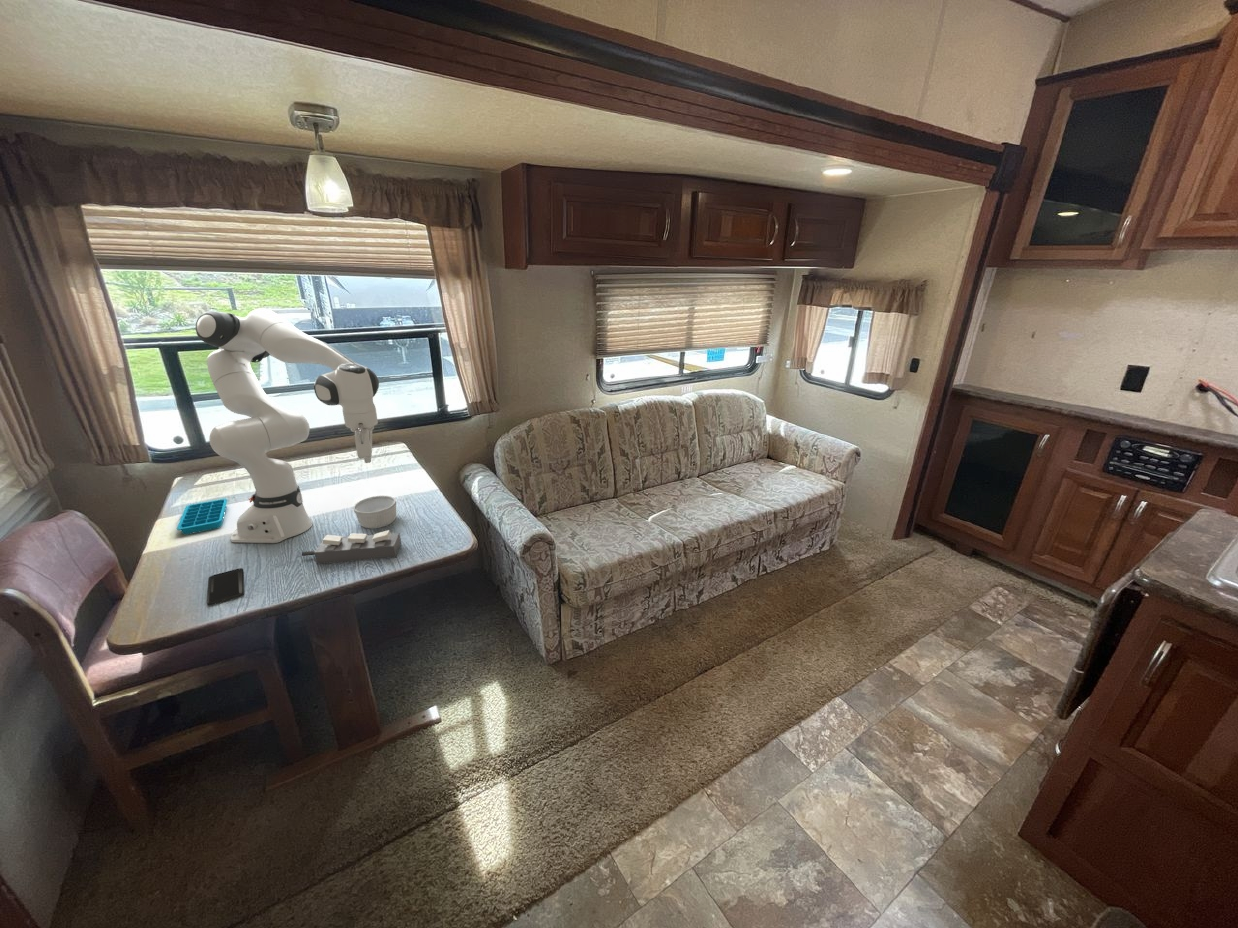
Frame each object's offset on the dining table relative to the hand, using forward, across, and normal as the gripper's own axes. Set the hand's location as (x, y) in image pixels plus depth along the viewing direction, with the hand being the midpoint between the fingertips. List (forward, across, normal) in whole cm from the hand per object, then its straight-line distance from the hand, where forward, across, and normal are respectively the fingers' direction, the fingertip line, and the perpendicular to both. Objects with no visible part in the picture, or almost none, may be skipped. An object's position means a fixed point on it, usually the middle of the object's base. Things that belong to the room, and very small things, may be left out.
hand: (368, 461), depth 151 cm
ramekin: (+27, +9, +1) cm, 28 cm away
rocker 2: (+21, -11, +6) cm, 24 cm away
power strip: (+26, -11, +8) cm, 29 cm away
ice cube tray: (+28, +33, +55) cm, 70 cm away
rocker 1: (+21, -9, +12) cm, 26 cm away
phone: (+27, -16, +38) cm, 49 cm away
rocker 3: (+20, -12, -1) cm, 24 cm away
